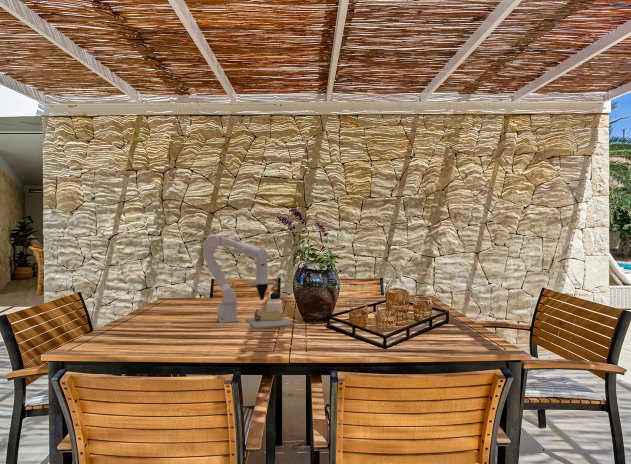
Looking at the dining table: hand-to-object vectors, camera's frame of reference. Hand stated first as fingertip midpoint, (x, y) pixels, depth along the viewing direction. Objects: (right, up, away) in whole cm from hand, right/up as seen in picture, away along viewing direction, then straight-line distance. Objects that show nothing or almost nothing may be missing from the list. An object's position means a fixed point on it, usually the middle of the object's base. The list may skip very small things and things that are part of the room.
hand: (261, 299), depth 235 cm
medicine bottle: (+6, -10, +11) cm, 16 cm away
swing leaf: (+4, -9, -6) cm, 12 cm away
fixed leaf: (+4, -9, -5) cm, 11 cm away
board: (+5, -10, -9) cm, 14 cm away
